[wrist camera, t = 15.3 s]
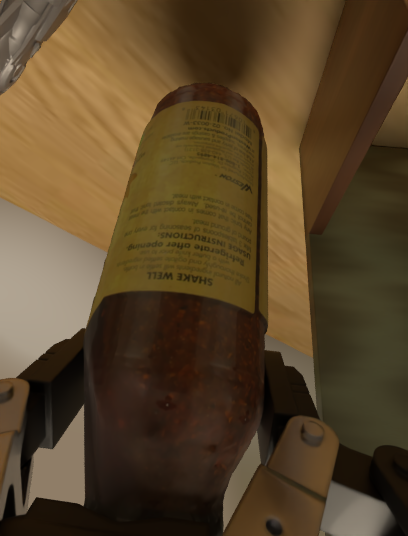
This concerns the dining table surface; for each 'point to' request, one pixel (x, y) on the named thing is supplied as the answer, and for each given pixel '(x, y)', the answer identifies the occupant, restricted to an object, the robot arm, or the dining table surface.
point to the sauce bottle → (180, 316)
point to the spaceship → (26, 32)
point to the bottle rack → (359, 231)
